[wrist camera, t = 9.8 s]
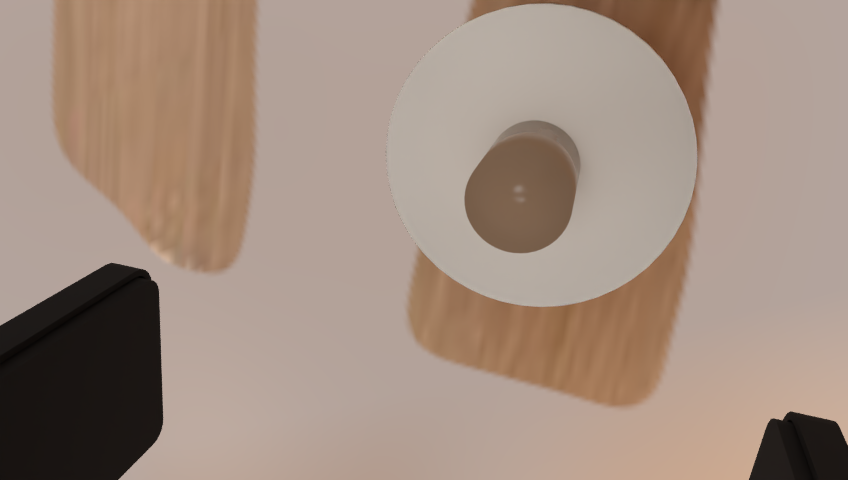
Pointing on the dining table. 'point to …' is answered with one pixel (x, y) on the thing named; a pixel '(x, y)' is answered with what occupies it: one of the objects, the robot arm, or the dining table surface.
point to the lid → (541, 155)
